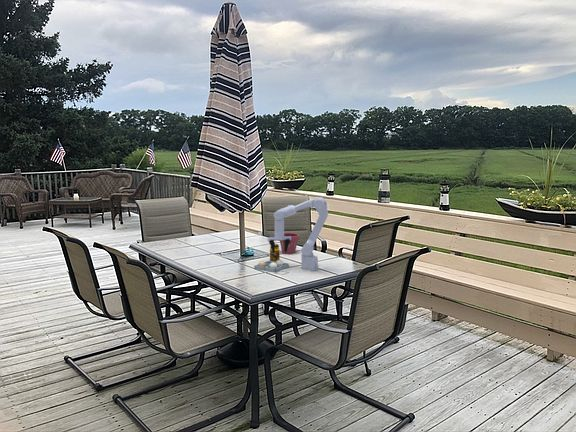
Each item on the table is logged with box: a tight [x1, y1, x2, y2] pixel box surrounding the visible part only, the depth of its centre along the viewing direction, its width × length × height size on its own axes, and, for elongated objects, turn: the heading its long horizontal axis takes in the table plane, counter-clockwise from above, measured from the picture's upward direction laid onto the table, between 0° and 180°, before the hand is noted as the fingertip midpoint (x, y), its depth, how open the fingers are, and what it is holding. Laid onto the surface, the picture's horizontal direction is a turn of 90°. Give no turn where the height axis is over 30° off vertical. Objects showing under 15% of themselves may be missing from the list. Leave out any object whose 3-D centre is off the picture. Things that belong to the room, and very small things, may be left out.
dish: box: [274, 270, 290, 276], centre depth 271 cm, size 6×6×1 cm
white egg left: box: [269, 262, 277, 269], centre depth 276 cm, size 5×5×5 cm
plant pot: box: [279, 232, 300, 255], centre depth 325 cm, size 14×14×13 cm
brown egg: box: [257, 260, 266, 267], centre depth 280 cm, size 5×5×5 cm
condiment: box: [269, 243, 281, 262], centre depth 296 cm, size 7×8×12 cm
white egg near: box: [276, 259, 284, 266], centre depth 282 cm, size 5×5×5 cm
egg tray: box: [253, 260, 290, 273], centre depth 281 cm, size 15×15×3 cm
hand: (279, 252), depth 283 cm, fingers open, 7 cm apart
